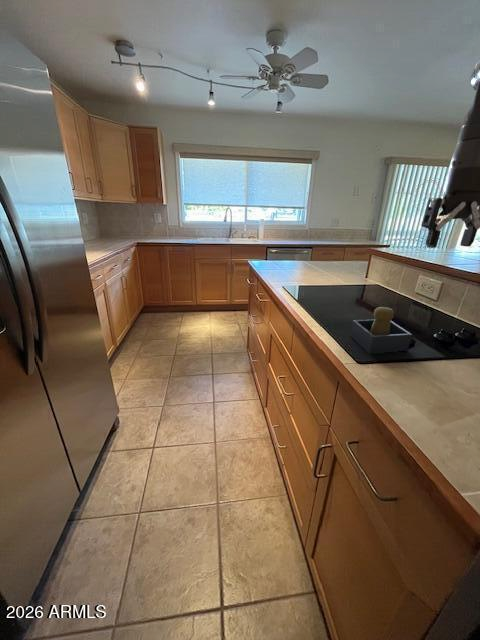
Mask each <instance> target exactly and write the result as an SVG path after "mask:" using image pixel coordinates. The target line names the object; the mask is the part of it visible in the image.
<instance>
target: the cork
mask: <svg viewBox="0 0 480 640" xmlns="http://www.w3.org/2000/svg"><path fill="white" fill-rule="evenodd" d="M394 316H395V312H394V310H393V309H392V308H390V307H386V306H378V307H376V308H375V309H374V311H373V317H374V318H373V319H374V322H373V325H372V327H371V330H370V333H372V334H373V335H374V336H376V335H389V333H390V321H392V320H393V318H394Z"/></svg>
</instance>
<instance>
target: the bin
mask: <svg viewBox="0 0 480 640" xmlns="http://www.w3.org/2000/svg"><path fill="white" fill-rule="evenodd" d="M374 319H375V318H372V319H369V318H368V319H355V320H354V319H353V320H352V322H351V328H350V329H351V330H350V335H349V336H350V337H351V339H353V340H354V341H355V342H356V343H357V344H358V345H359V346H360V347H361V348H363V350H365V351H366V352H367V354H368V355H377V354H378V355H379V353H380V354H386V353H385V352H394V353H399V352H398V351H409V348H410V344H411V340H412V338H413V337H412V336H413V334H412V333H411V332H409V331H408V330H406V329H404V328H403V327H401V326H400V325H398V324H397V323H395V322H394V321H392V320H390V333H389V335H376V336H374V335H373V334H372V333H370V330H371V327H372V325H373V322H374Z"/></svg>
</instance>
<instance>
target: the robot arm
mask: <svg viewBox="0 0 480 640" xmlns="http://www.w3.org/2000/svg"><path fill="white" fill-rule="evenodd" d="M470 75H471V76H470V86H471V88H472V89H473V91H475V95H474V98H473V101H472V104H471V106H470V107H469V109H468V111H467V112H466V113H465V116H464V117H463V121H462V125H461V127H460V131H459V134H458V138H457V143H456V146H455V149H454V151H453V154H452V156H451V160H450V163H449V167H448V171H447V175H446V179H445V182H444V186H443V192H444V196H443V197H431V198H428V201H427V203H426V207H425V210H424V214H423V218H422V220H421V223H420V224H421V225H420V226H421V227H422V228H426V229H427V230H428V233H427V237H426V240H425V245H426V247H427V248H430V249H433V248H435V249H436V248H437V247H438V243H439V238H440V236H441V229H442V228H443V227H444V226H445V225H446V224H448V223H450V222H451V220H458V219H459V220H461V221H462V222H464V224H465V228H464V231H463V234H462V236H461V241H460V246H461V247H465V248H466V247H467V248H468V247H472V244H473V243H474V242H475V238H476V235H477V233H478V230H479V229H480V59H479V60H478V61H477V62H476V63H475V66H474V67H473V69H472V72H471V74H470Z"/></svg>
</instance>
